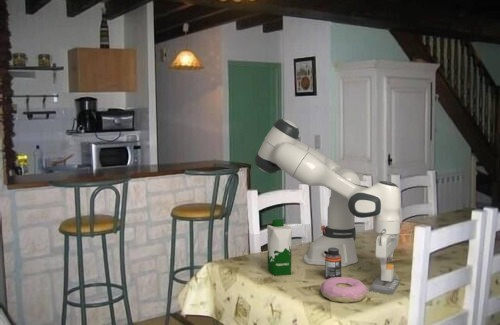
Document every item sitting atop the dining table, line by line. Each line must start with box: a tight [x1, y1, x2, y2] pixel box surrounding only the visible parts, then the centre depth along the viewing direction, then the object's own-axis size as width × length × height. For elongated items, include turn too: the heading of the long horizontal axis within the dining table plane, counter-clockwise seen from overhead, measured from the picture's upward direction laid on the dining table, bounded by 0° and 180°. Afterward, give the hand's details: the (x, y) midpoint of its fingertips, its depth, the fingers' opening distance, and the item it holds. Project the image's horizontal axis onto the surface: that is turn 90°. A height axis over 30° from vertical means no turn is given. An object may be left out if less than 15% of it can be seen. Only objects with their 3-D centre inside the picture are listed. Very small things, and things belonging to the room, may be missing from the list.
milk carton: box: [266, 218, 293, 277], centre depth 195 cm, size 9×9×20 cm
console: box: [368, 274, 401, 295], centre depth 179 cm, size 14×8×2 cm, turn 153°
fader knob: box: [380, 263, 395, 282], centre depth 182 cm, size 4×4×5 cm
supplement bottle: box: [324, 248, 342, 280], centre depth 188 cm, size 6×6×11 cm
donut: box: [320, 276, 368, 304], centre depth 170 cm, size 16×15×5 cm
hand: (386, 265), depth 181 cm, fingers open, 8 cm apart
